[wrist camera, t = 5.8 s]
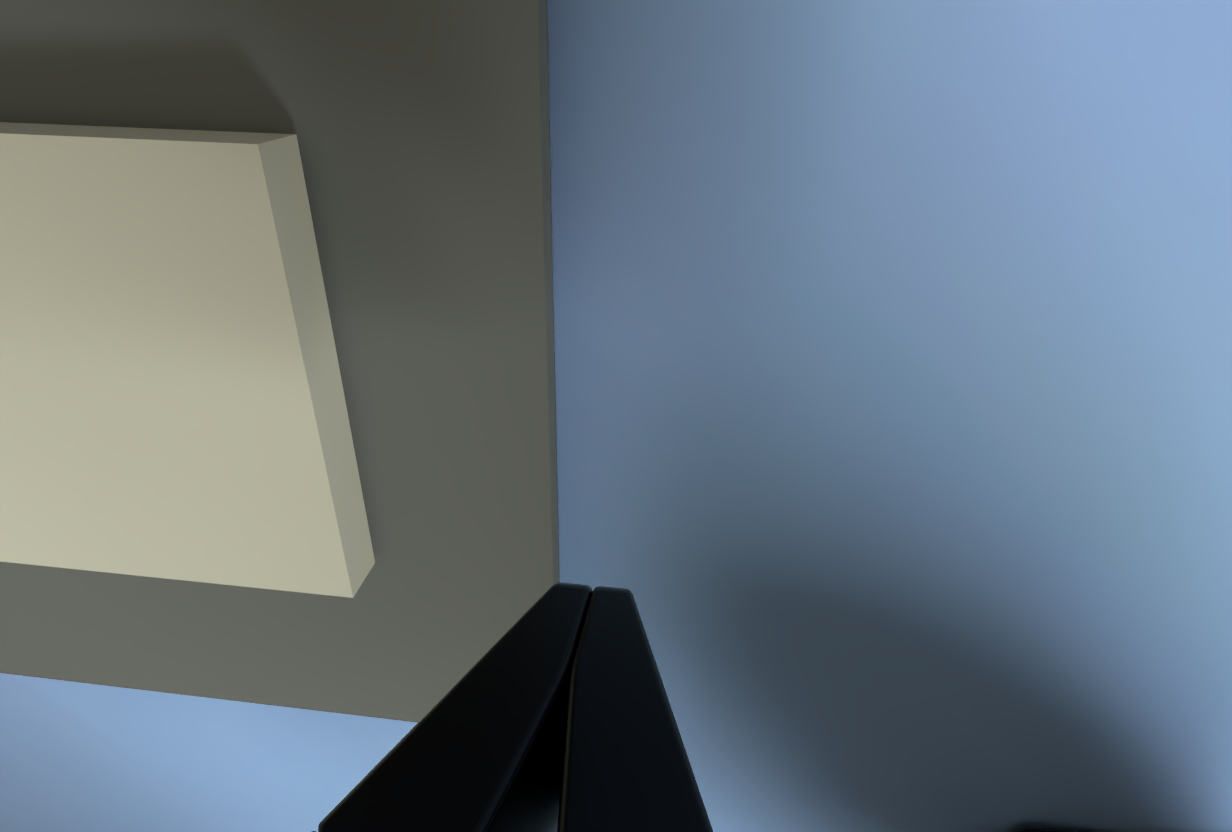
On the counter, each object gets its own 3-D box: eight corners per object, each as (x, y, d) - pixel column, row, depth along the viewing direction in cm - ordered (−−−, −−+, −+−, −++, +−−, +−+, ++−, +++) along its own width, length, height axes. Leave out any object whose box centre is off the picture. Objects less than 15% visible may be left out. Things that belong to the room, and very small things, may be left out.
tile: (258, 144, 9) (-273, 121, 10) (353, 597, 13) (-36, 557, 14) (303, 132, 10) (-181, 112, 11) (379, 555, 14) (16, 521, 15)
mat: (539, -324, 8) (528, -348, 8) (562, 716, 17) (557, 738, 16) (-613, -300, 10) (-689, -320, 9) (-47, 646, 18) (-69, 664, 18)
